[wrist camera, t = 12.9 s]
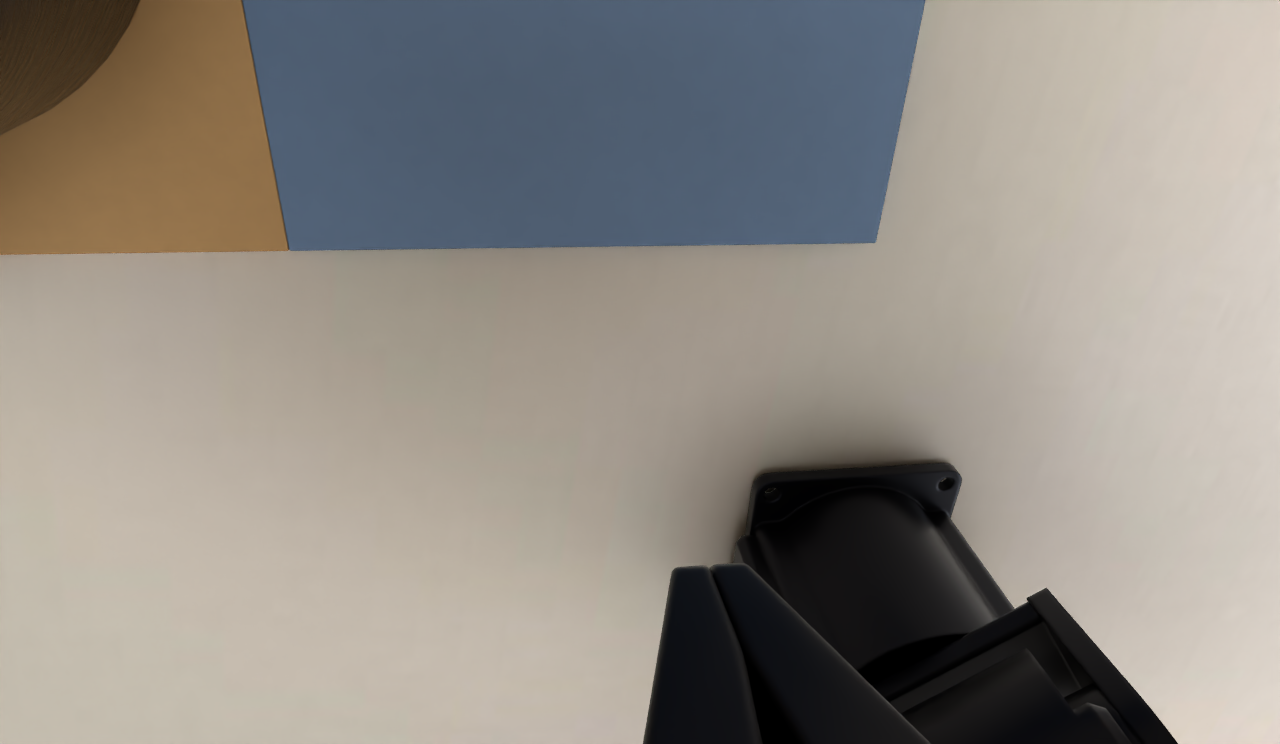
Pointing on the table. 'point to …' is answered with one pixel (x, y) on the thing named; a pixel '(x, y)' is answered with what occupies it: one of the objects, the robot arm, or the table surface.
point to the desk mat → (469, 127)
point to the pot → (53, 51)
